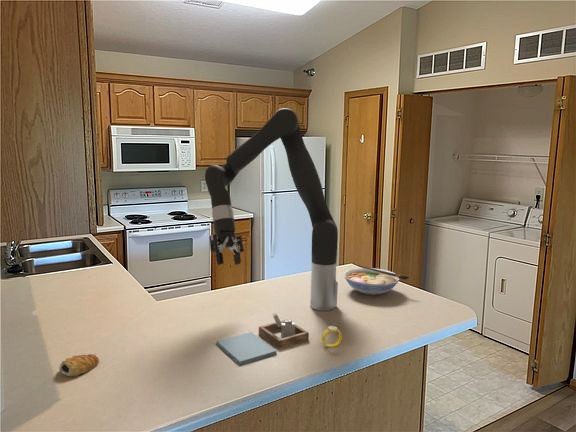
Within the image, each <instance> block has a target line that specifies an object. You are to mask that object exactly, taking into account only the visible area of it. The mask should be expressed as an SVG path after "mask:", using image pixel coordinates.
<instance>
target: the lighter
mask: <svg viewBox="0 0 576 432" xmlns="http://www.w3.org/2000/svg"><path fill="white" fill-rule="evenodd" d="M271 316H272V317H273V319H274V322H276V323H277V325H278V327H280V326H281V330H280V337H281V339H282V338H285V337H289V336H292V335H296V334H295V324H296V323H295V322H293V320H291V319H284V320H285V323H281V321H282V320H281V319H280V318H279V316H278V313H277V312H274V313H272V314H271Z"/></svg>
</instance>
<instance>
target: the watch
mask: <svg viewBox="0 0 576 432" xmlns="http://www.w3.org/2000/svg"><path fill="white" fill-rule="evenodd" d="M331 332H332V333H333V332H334V333H335V332H338V338H337V339H338V340H337V341H336V342H335V343H329V344H327V343H326V342H325V338H326V336H327V334H329V333H331ZM342 339H343V335H342V333H341V331H340V330H339V328H338V327H337V326H334V325H330V326H328V327H327V329H325V330H324V331H323V333H322V336H321V341H322V343H323V345H324V346H325V347H327V348H335V347H336V348H337V347H339V345H340V344H341V342H342Z"/></svg>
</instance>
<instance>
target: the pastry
mask: <svg viewBox="0 0 576 432" xmlns="http://www.w3.org/2000/svg"><path fill="white" fill-rule="evenodd" d="M99 363H100V360H99V357H98V356H97V355H96V354H93V353H90V354H80V355H72V357H67V358H66V359H65V360H63V361H61V363H60V364H59V371H60V372H61V375H62V374H63V375H65V376H67V377H77V376H81V374H85V373H87V372H88V371H89V372H90V371H91V370H92V369H94V368H95V367H96V366H98V364H99Z"/></svg>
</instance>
